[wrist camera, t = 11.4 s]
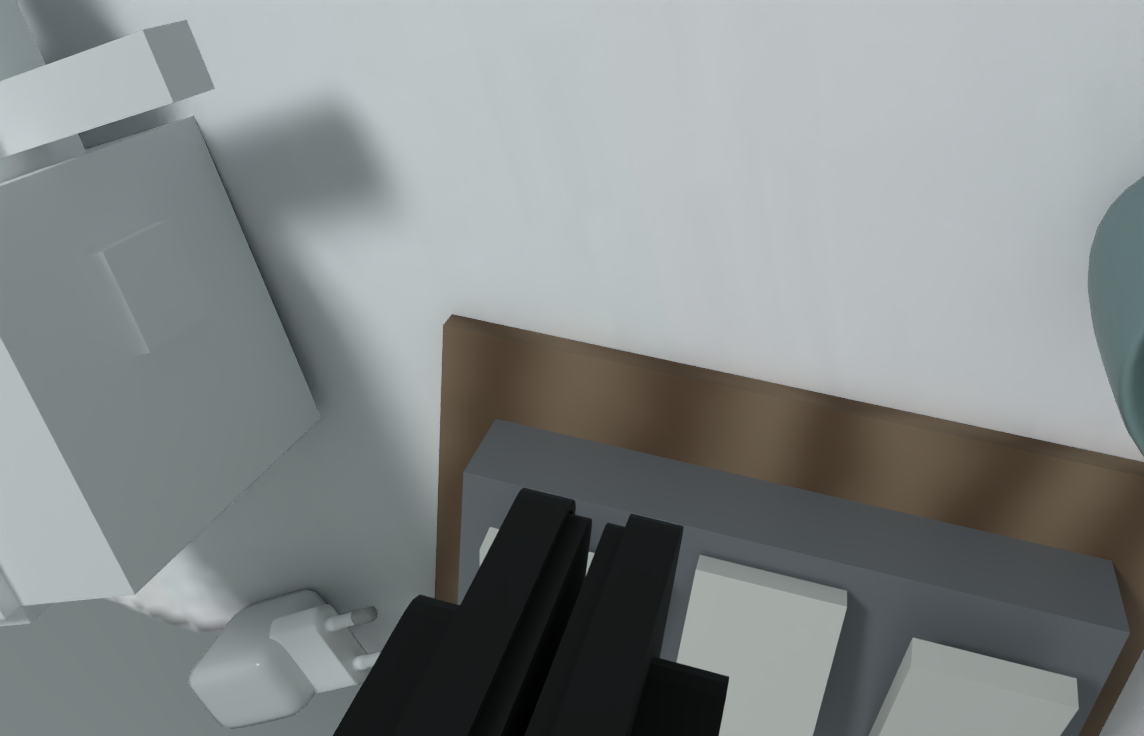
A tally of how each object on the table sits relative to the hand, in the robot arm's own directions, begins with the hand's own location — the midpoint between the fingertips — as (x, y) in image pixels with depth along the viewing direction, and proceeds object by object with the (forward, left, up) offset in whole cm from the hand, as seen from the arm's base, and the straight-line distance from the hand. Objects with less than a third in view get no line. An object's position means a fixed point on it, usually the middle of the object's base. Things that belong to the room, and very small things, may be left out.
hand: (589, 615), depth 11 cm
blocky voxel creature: (+30, +11, -29) cm, 43 cm away
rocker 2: (-11, +23, -23) cm, 34 cm away
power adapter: (+18, +33, -29) cm, 48 cm away
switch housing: (-3, +23, -29) cm, 37 cm away
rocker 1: (-3, +23, -23) cm, 33 cm away
